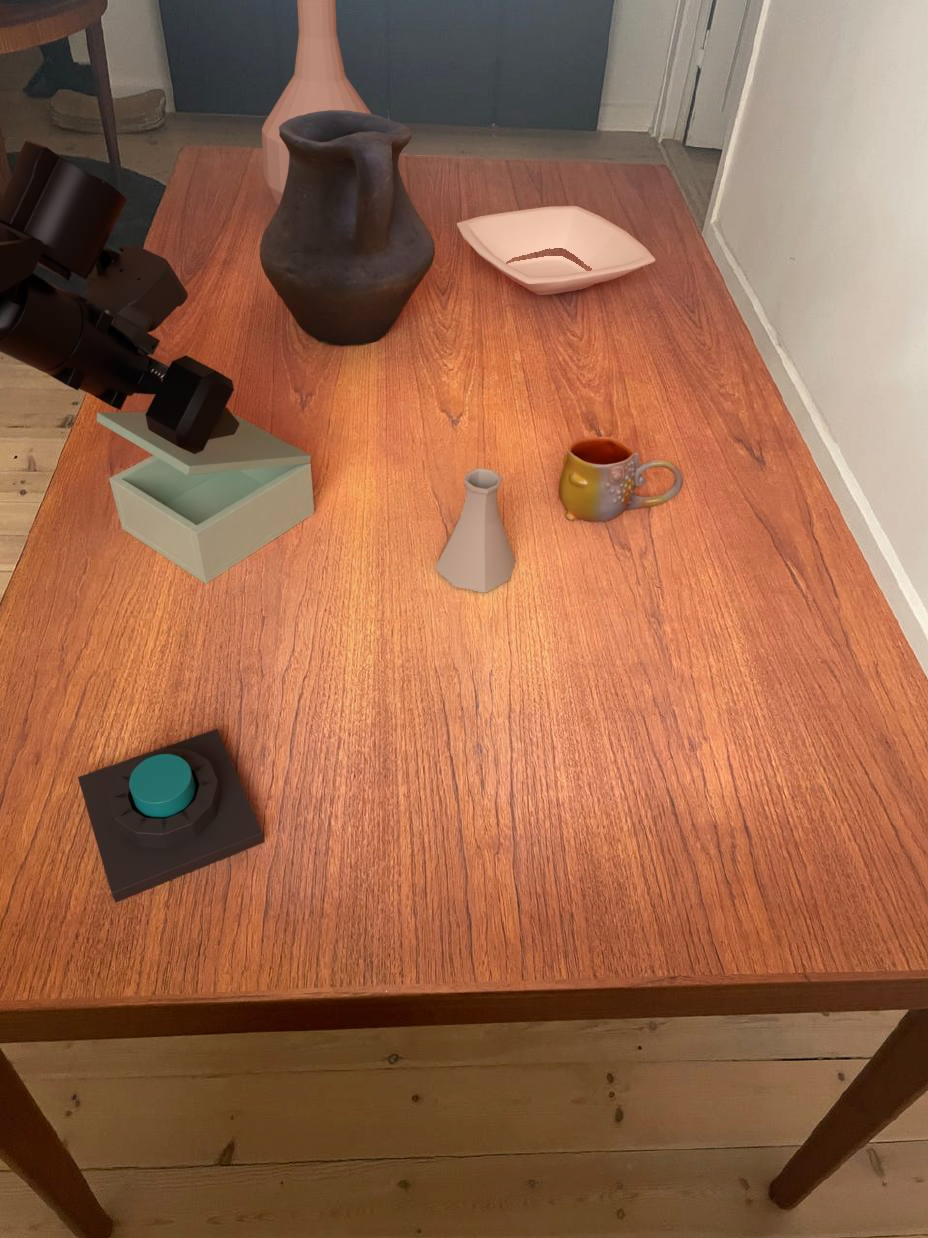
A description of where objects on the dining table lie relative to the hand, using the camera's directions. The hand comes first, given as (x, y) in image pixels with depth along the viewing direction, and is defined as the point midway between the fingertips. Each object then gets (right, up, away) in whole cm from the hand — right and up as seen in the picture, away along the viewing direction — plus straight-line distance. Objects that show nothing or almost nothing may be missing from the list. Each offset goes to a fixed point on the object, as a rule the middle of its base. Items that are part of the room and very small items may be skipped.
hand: (198, 408), depth 78 cm
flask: (+24, -13, +6) cm, 28 cm away
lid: (0, -2, +3) cm, 4 cm away
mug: (+38, -7, +14) cm, 41 cm away
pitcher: (+9, +19, +37) cm, 43 cm away
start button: (+2, -30, -16) cm, 34 cm away
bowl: (+35, +30, +51) cm, 68 cm away
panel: (+2, -32, -14) cm, 35 cm away
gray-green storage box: (-1, -9, +9) cm, 12 cm away
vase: (+2, +42, +61) cm, 74 cm away
